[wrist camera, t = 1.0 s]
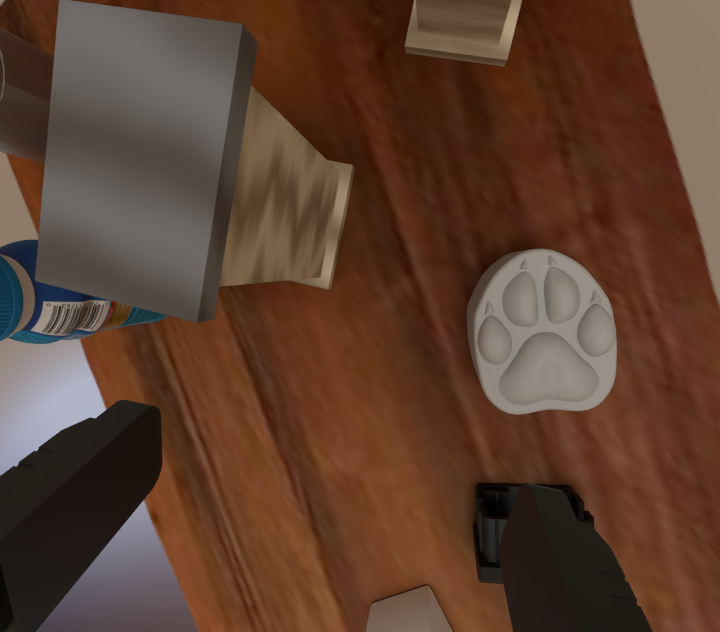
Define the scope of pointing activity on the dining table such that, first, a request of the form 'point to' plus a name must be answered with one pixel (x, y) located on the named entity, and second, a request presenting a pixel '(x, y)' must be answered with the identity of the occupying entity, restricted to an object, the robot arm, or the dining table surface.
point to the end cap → (504, 523)
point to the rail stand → (463, 29)
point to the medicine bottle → (408, 613)
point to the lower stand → (176, 167)
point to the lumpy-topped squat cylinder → (541, 334)
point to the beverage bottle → (53, 304)
